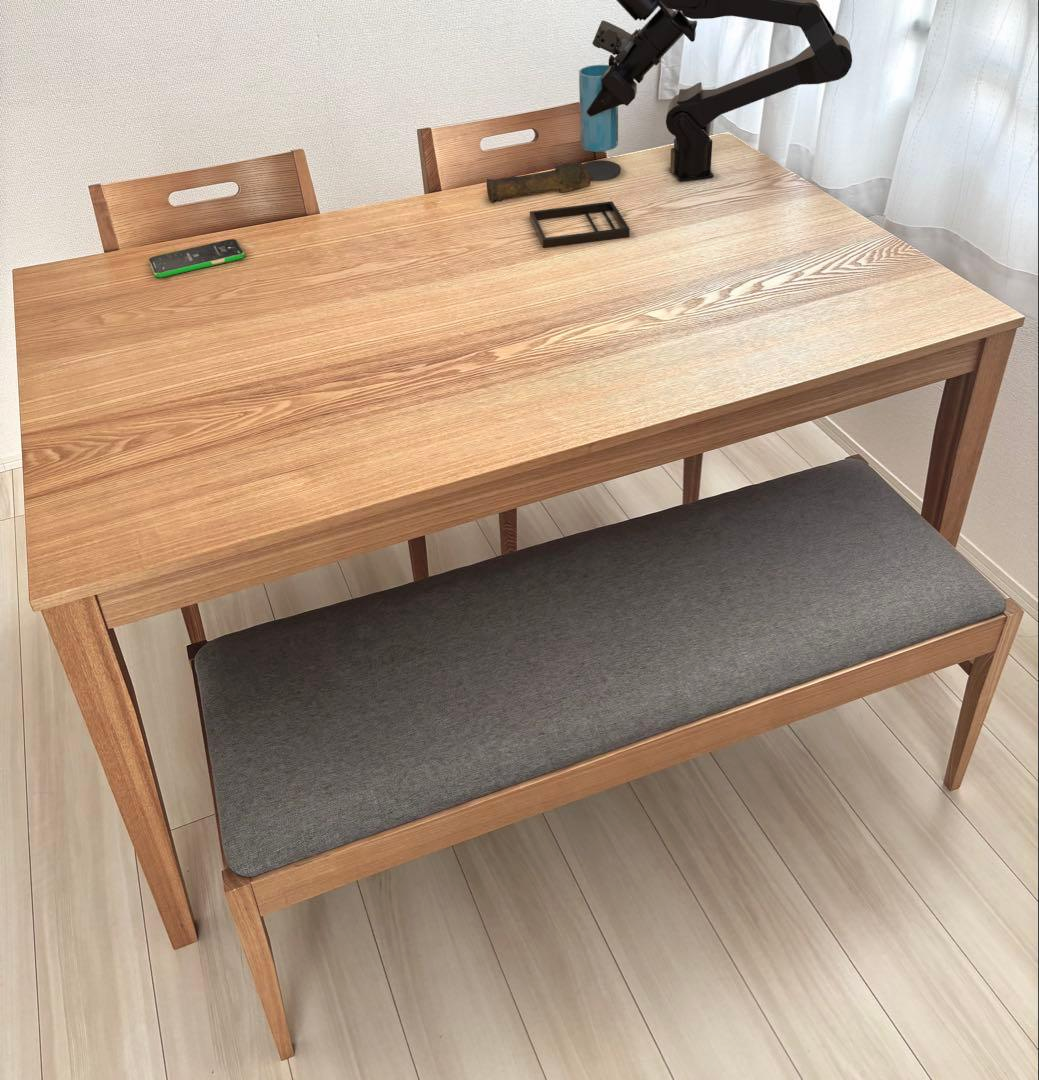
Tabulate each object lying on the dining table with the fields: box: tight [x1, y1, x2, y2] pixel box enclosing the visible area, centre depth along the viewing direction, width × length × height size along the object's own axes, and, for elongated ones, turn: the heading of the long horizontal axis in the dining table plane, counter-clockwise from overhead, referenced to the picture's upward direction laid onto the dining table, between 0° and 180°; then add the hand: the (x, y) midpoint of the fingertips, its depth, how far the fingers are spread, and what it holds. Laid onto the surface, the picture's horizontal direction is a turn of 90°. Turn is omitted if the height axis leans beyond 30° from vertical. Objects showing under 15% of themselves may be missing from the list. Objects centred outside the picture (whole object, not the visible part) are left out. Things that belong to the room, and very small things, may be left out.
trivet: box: [583, 159, 622, 182], centre depth 195 cm, size 8×8×1 cm
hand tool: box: [486, 161, 591, 203], centre depth 188 cm, size 19×4×5 cm, turn 101°
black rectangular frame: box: [529, 201, 630, 249], centre depth 177 cm, size 15×12×2 cm
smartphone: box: [148, 238, 246, 279], centre depth 175 cm, size 8×1×15 cm
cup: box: [578, 64, 619, 153], centre depth 188 cm, size 7×7×13 cm
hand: (591, 107), depth 188 cm, fingers closed on cup, 7 cm apart
